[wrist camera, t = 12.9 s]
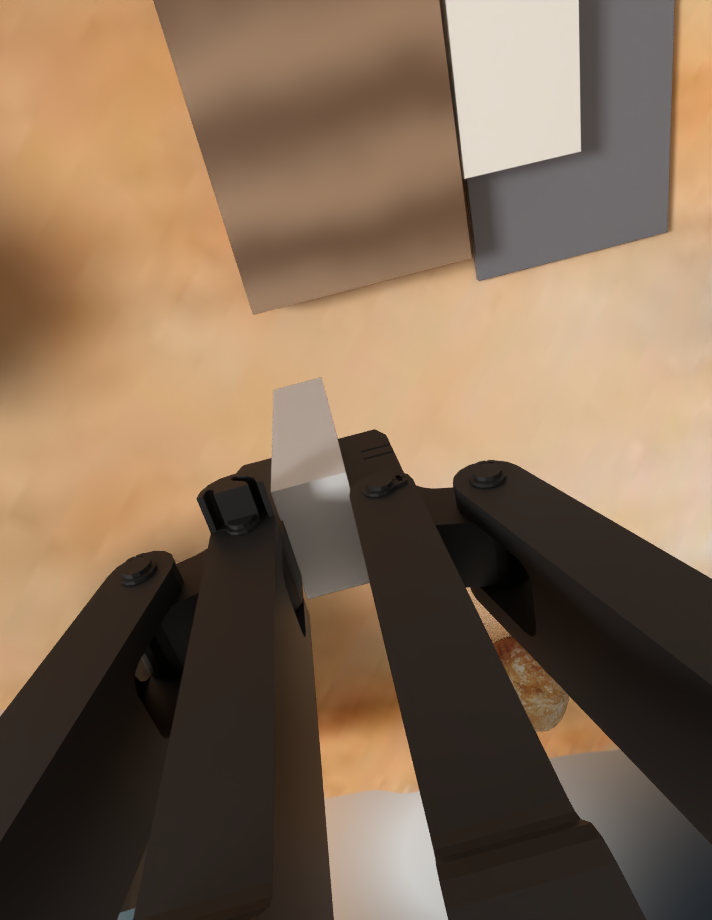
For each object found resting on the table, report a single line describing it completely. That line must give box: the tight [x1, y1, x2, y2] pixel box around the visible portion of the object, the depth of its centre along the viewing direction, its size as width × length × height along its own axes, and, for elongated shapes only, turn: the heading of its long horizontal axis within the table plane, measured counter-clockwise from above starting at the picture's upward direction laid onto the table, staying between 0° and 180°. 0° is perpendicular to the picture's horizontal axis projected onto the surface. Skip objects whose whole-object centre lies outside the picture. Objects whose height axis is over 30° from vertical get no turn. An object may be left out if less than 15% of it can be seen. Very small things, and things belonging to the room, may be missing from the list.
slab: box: [439, 0, 581, 179], centre depth 31 cm, size 9×7×2 cm
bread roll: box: [493, 637, 569, 731], centre depth 53 cm, size 10×10×8 cm
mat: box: [464, 0, 675, 281], centre depth 32 cm, size 22×13×1 cm, turn 13°
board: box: [153, 0, 472, 315], centre depth 31 cm, size 18×14×3 cm
